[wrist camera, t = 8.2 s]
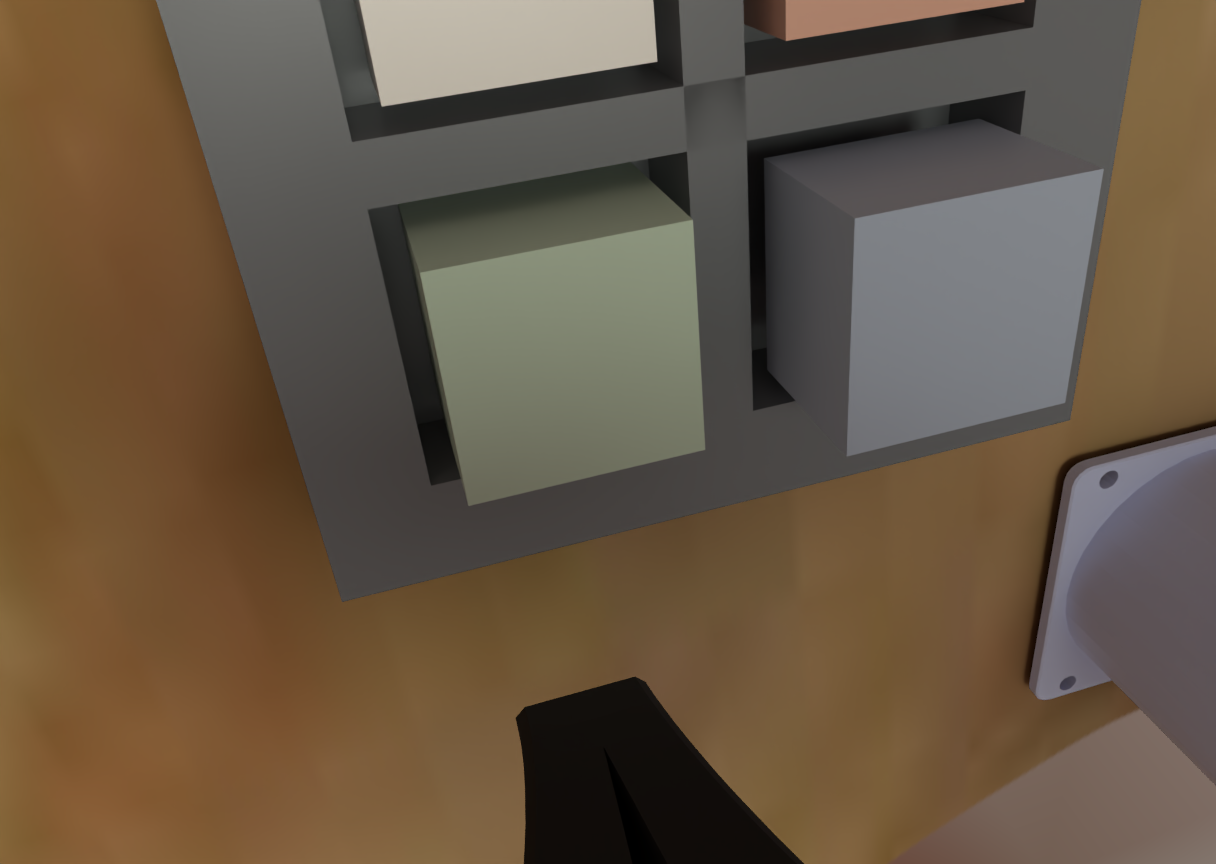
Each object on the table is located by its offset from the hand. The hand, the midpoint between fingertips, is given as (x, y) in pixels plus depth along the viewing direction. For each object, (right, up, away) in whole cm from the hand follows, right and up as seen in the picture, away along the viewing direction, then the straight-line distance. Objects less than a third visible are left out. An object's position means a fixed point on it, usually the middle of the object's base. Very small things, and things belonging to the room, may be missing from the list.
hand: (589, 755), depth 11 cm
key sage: (-1, +6, +7) cm, 9 cm away
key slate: (+5, +7, +7) cm, 11 cm away
